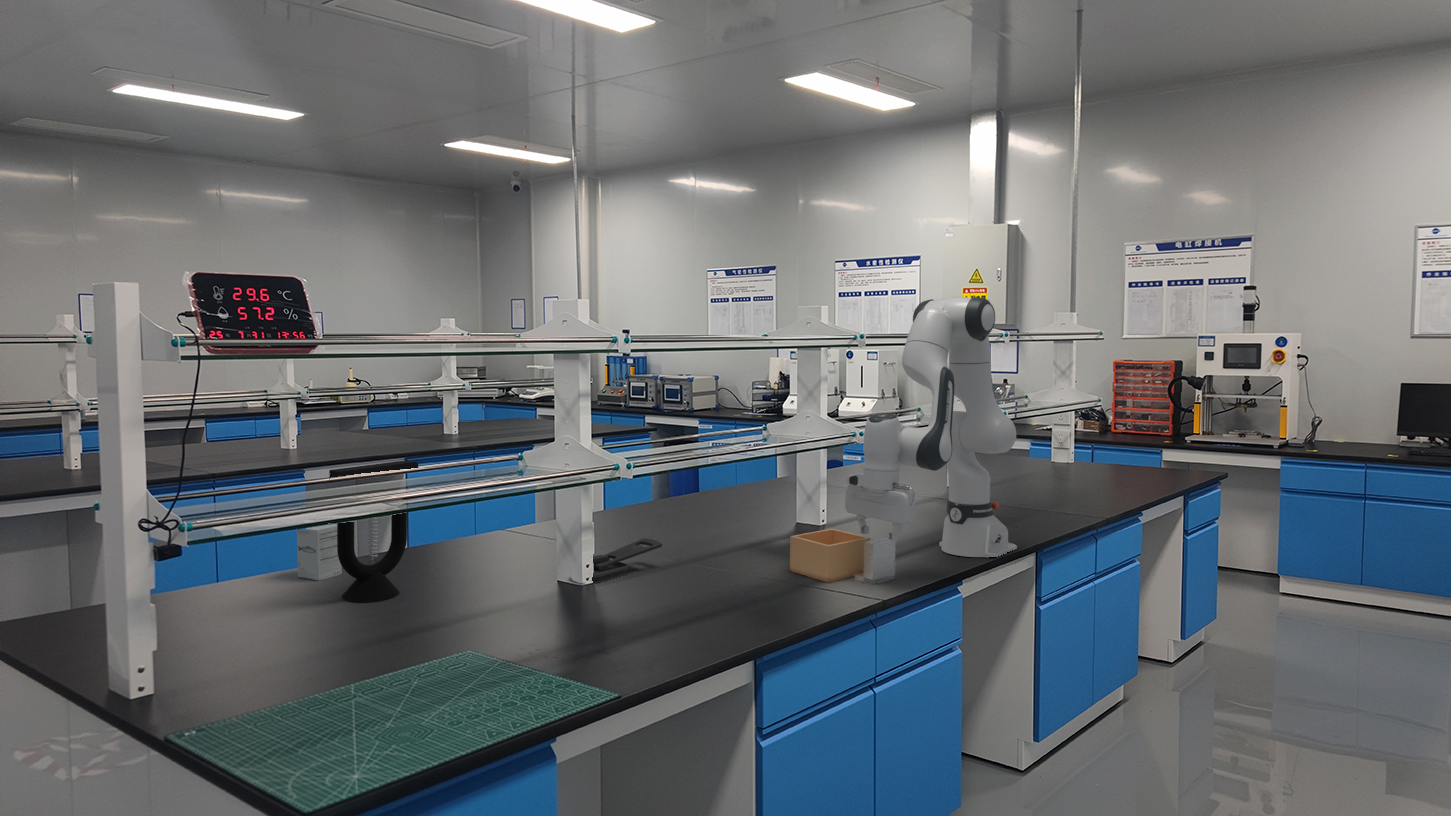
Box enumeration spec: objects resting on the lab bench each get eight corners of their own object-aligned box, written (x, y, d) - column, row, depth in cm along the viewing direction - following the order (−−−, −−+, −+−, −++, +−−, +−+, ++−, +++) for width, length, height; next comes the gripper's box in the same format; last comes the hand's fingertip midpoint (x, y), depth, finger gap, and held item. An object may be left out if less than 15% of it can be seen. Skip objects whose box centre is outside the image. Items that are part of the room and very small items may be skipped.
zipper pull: (666, 542, 231) (586, 559, 213) (666, 567, 232) (586, 586, 214) (643, 536, 237) (564, 552, 220) (644, 561, 238) (565, 579, 220)
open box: (831, 562, 238) (832, 528, 237) (870, 572, 227) (870, 537, 226) (789, 571, 228) (790, 536, 228) (827, 582, 218) (828, 546, 217)
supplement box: (296, 577, 220) (295, 527, 219) (322, 570, 227) (320, 521, 226) (318, 581, 217) (316, 529, 216) (343, 574, 224) (341, 524, 222)
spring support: (352, 609, 195) (348, 472, 192) (318, 600, 201) (314, 467, 199) (430, 587, 212) (427, 461, 210) (396, 579, 219) (393, 457, 216)
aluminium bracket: (872, 584, 217) (873, 543, 216) (854, 579, 221) (855, 539, 220) (894, 579, 221) (895, 539, 221) (876, 574, 226) (877, 535, 225)
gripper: (922, 485, 212) (920, 543, 213) (859, 474, 228) (857, 528, 229) (905, 487, 208) (903, 546, 209) (841, 476, 224) (839, 531, 225)
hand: (878, 536), depth 219 cm, fingers open, 8 cm apart
